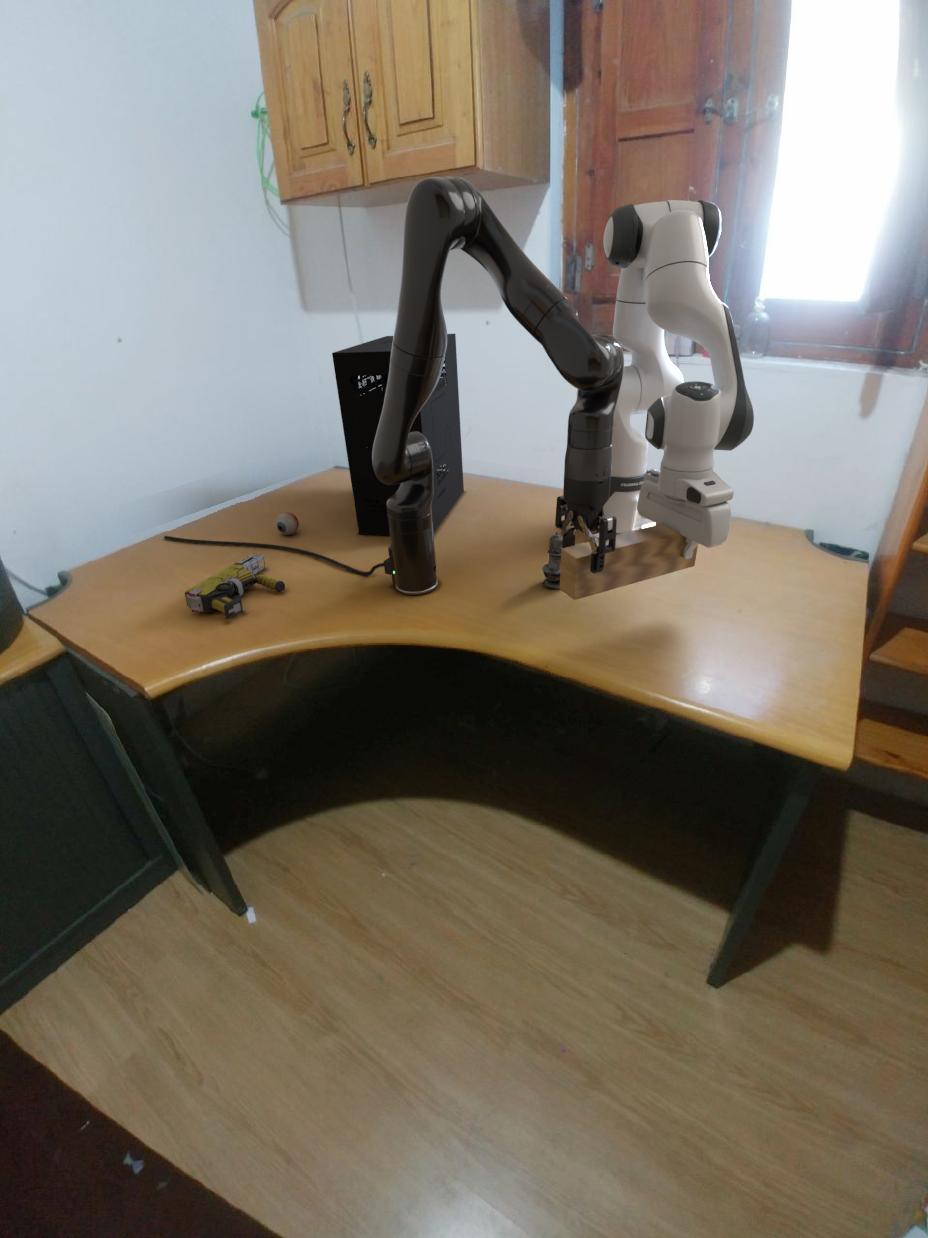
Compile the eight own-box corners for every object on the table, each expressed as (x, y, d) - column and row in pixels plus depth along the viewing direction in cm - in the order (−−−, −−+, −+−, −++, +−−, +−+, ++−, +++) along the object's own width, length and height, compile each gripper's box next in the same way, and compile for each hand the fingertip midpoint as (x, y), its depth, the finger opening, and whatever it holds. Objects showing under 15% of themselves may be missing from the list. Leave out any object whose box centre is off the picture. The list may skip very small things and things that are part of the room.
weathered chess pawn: (568, 589, 128) (570, 537, 122) (540, 588, 130) (541, 536, 124) (569, 577, 133) (571, 526, 127) (542, 576, 134) (543, 525, 128)
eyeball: (273, 537, 164) (268, 516, 161) (287, 528, 169) (282, 508, 166) (291, 539, 161) (286, 518, 158) (305, 530, 166) (301, 510, 163)
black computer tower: (431, 537, 158) (415, 350, 135) (358, 534, 162) (332, 352, 140) (463, 491, 189) (455, 333, 167) (402, 489, 194) (386, 335, 171)
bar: (677, 557, 119) (683, 518, 115) (694, 566, 115) (701, 526, 111) (559, 589, 110) (561, 548, 106) (574, 600, 106) (576, 558, 102)
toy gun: (306, 561, 141) (251, 550, 144) (240, 606, 120) (179, 591, 124) (307, 580, 143) (253, 568, 147) (243, 626, 123) (183, 611, 127)
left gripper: (544, 464, 102) (542, 552, 110) (594, 487, 91) (588, 583, 99) (581, 458, 104) (576, 544, 113) (634, 479, 93) (625, 573, 101)
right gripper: (632, 469, 114) (626, 536, 122) (713, 500, 98) (700, 576, 105) (659, 463, 117) (651, 530, 124) (742, 493, 100) (727, 568, 107)
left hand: (582, 562), depth 106 cm, fingers open, 8 cm apart
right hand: (674, 551), depth 114 cm, fingers closed on bar, 5 cm apart
